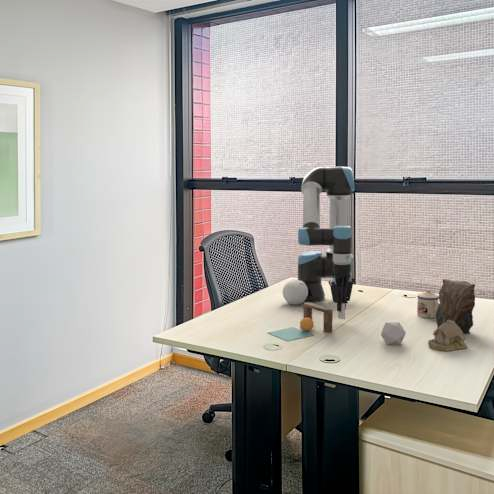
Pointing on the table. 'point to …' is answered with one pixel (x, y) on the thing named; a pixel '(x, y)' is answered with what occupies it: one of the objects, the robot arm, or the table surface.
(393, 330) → the die
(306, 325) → the ball
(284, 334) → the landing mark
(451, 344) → the ceramic model
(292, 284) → the decorative ball
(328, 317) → the bridge
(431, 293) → the teacup with lid
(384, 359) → the table surface
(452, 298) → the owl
